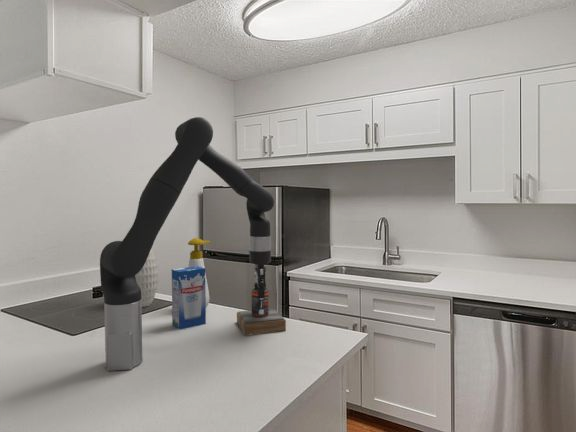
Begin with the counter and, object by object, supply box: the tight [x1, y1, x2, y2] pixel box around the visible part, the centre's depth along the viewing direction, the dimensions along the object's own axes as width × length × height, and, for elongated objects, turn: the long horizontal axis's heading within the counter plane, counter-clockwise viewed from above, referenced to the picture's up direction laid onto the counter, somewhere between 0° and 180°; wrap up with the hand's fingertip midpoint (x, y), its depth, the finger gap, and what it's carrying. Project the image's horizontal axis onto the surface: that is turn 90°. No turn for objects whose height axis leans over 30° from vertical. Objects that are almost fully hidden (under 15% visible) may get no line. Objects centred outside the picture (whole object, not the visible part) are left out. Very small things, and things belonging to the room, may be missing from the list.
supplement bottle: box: [251, 281, 270, 317], centre depth 131 cm, size 6×6×11 cm
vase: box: [135, 248, 159, 308], centre depth 158 cm, size 13×13×28 cm
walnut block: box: [236, 307, 287, 336], centre depth 132 cm, size 14×14×4 cm
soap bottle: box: [187, 237, 211, 309], centre depth 151 cm, size 13×10×29 cm
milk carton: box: [171, 266, 207, 331], centre depth 133 cm, size 10×6×20 cm, turn 129°
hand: (260, 295), depth 131 cm, fingers open, 8 cm apart
